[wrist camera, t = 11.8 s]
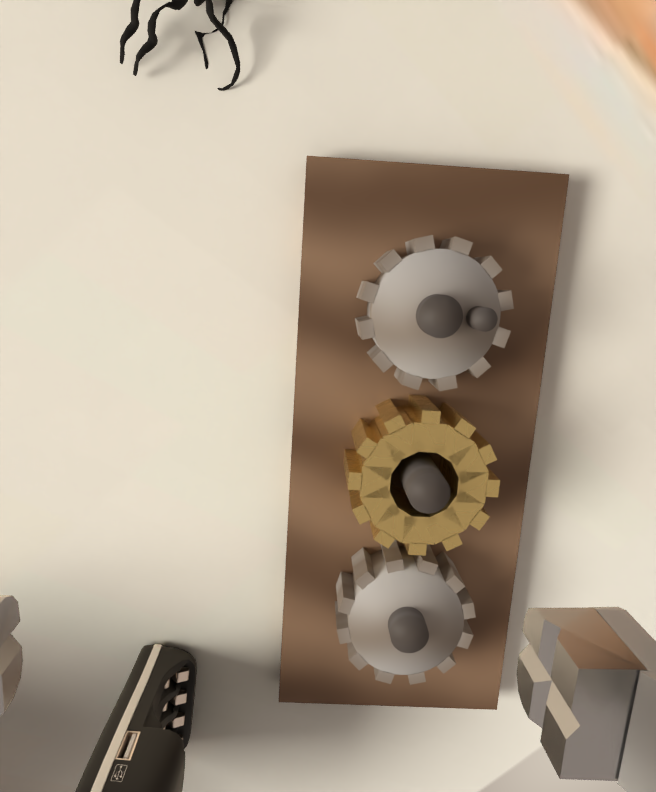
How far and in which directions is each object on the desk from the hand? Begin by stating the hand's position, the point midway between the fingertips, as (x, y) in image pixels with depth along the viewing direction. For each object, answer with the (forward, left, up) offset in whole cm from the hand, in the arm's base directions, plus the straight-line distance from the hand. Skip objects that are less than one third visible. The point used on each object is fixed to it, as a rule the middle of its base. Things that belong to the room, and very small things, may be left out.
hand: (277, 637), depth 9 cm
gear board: (+3, +6, -21) cm, 22 cm away
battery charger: (+18, -6, -21) cm, 28 cm away
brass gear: (+3, +6, -19) cm, 20 cm away
